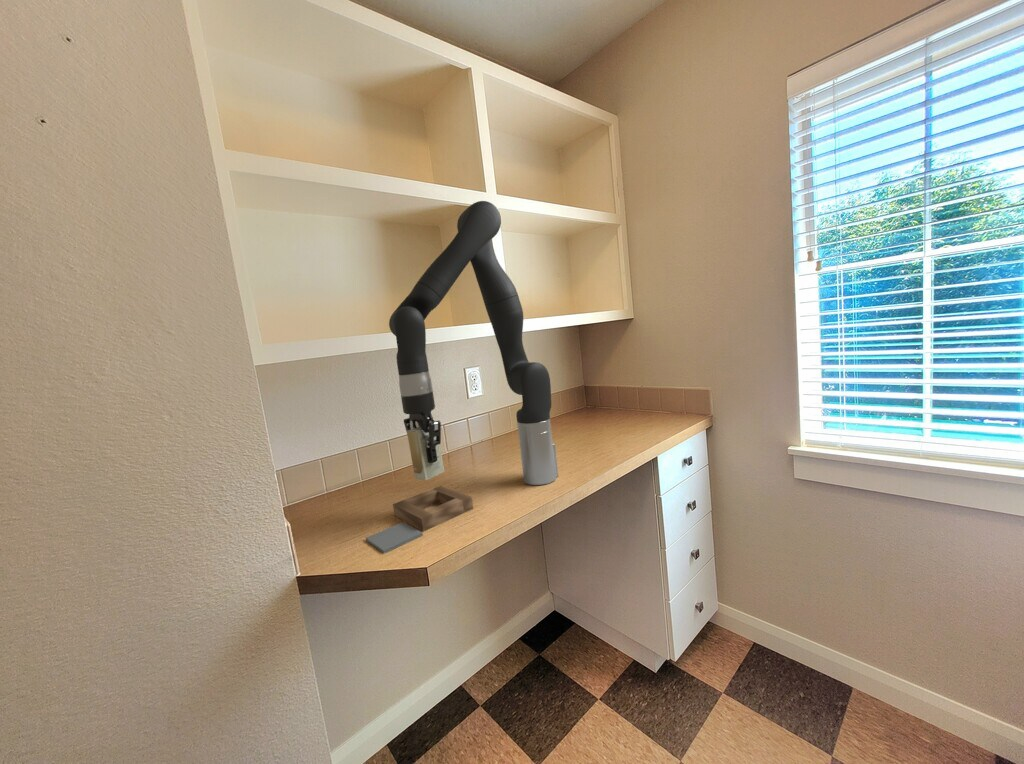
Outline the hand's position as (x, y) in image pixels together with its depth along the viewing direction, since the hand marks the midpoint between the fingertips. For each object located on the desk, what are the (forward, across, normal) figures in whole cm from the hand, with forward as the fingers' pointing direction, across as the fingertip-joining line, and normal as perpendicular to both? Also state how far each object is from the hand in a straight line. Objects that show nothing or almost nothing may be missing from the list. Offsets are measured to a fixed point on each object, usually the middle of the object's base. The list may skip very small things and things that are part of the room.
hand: (427, 460), depth 98 cm
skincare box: (+4, 0, 0) cm, 4 cm away
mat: (+13, -4, +13) cm, 19 cm away
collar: (+13, 0, 0) cm, 13 cm away
